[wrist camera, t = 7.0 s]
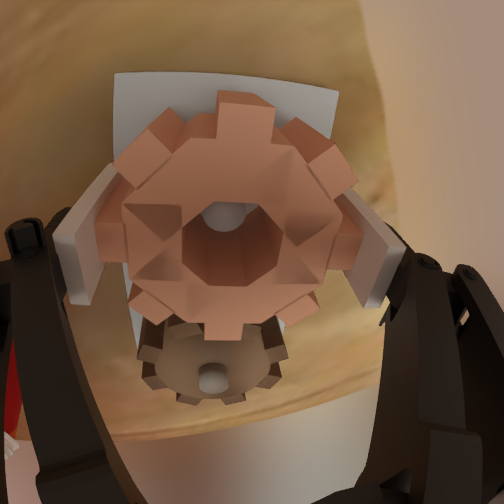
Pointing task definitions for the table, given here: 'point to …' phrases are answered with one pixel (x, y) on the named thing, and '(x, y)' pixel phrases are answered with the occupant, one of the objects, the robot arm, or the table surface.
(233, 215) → the gear board
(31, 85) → the table surface
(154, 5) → the table surface
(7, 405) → the paper cup
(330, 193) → the gear
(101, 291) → the table surface
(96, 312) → the table surface
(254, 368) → the gear
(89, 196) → the robot arm
